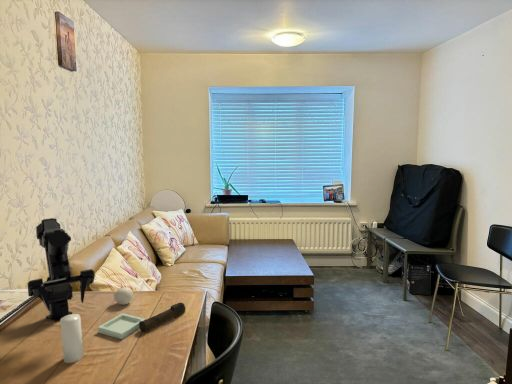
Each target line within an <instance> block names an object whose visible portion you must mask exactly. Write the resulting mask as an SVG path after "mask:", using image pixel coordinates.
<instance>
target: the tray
mask: <svg viewBox="0 0 512 384" xmlns="http://www.w3.org/2000/svg"><path fill="white" fill-rule="evenodd" d="M144 320H146V318H143V317H141V316H140V317H138V316H136V315H132V314H127V313H120V314H119V315H117V316H116V317H113V318H112V319H109V320H108V321H106V322H104V323H102V324H100V325H99V326H97V332H98V333H99V334H102V335H106V336H109V337H113V338H116V339H119V340H124V339H126V338H127V337H128V336H130V335H132V334H133V333H136V331H138V330H140V328H139V322H140V321H144Z"/></svg>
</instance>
